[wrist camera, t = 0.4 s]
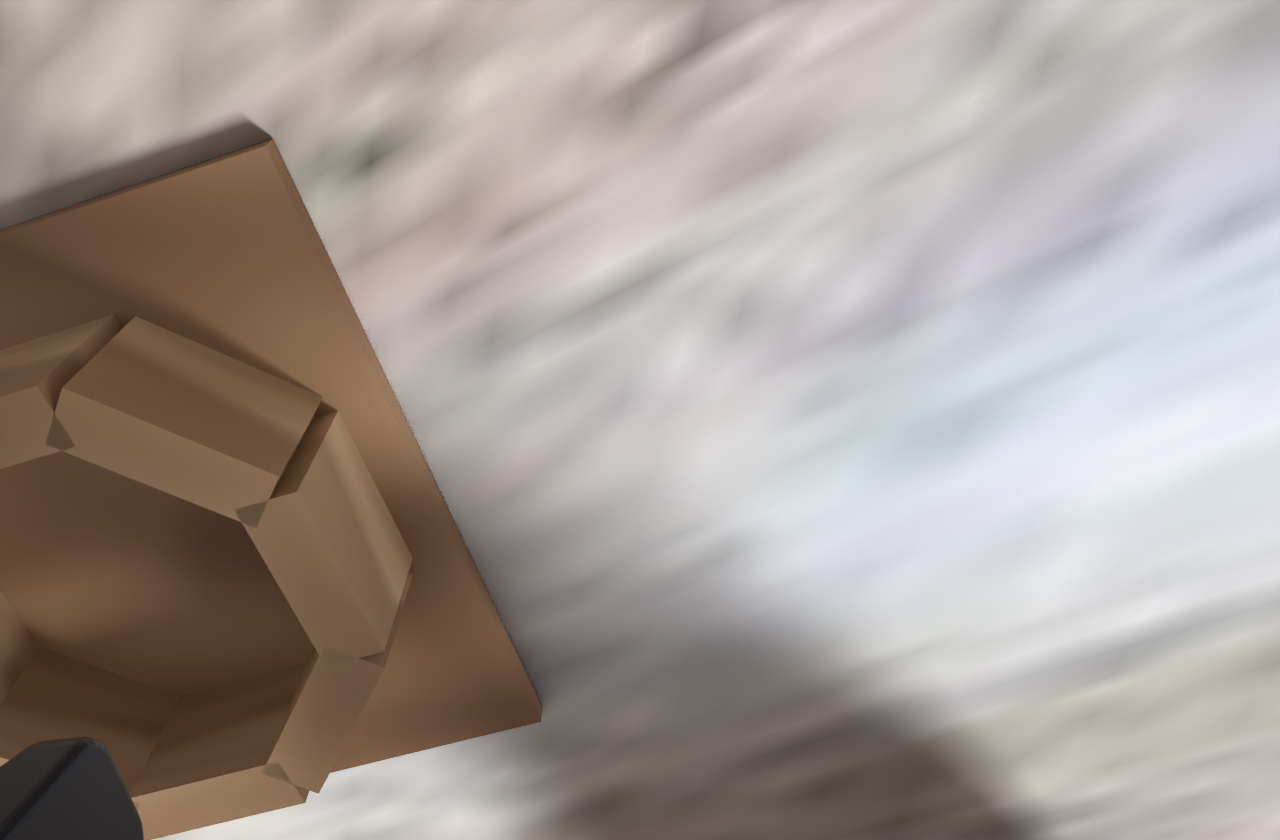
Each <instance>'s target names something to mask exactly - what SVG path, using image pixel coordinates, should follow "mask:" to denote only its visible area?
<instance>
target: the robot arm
mask: <svg viewBox="0 0 1280 840" xmlns="http://www.w3.org/2000/svg"><path fill="white" fill-rule="evenodd" d="M0 840H144V835H143V827H142V822H141V819H140V816H139V814H138V811H137V809H136V807H135V805H134V803H133V801H132V799H131V797H130V794H129V792H128V790H127V788H126V786H125V784H124V782H123V780H122V777H121V775H120V773H119V771H118V769H117V767H116V765H115V763H114V761H113V758H112V756H111V754H110V752H109V750H108V749H107V747H106V746H105V745H104V744H103V743H102V742H100V741H99V740H98V739H96V738H91V737H77V738H66V739H56V740H46V741H42V742H38V743H35V744H32V745H30V746H29V747H27V748H26V749H24V750H23V751H21V752H20V753H19V754H17V755H16V756H14V757H13V758H12V759H10V760H9V761H8V762H6V763H5V764H4V765H2V766H1V767H0Z"/></svg>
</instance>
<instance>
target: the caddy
mask: <svg viewBox="0 0 1280 840" xmlns="http://www.w3.org/2000/svg"><path fill="white" fill-rule="evenodd" d="M541 715H542V705H541V702H540V700H539V698H538V696H537V694H536V692H535V690H534V688H533V686H532V683H531V681H530V679H529V677H528V675H527V673H526V671H525V669H524V667H523V664H522V662H521V660H520V658H519V656H518V654H517V652H516V650H515V648H514V646H513V643H512V641H511V639H510V637H509V635H508V633H507V631H506V629H505V627H504V624H503V622H502V620H501V618H500V616H499V614H498V612H497V610H496V608H495V605H494V603H493V601H492V599H491V597H490V595H489V593H488V591H487V589H486V586H485V584H484V582H483V580H482V578H481V576H480V574H479V572H478V570H477V568H476V565H475V563H474V561H473V559H472V557H471V555H470V553H469V551H468V549H467V546H466V544H465V542H464V540H463V538H462V536H461V534H460V532H459V530H458V527H457V525H456V523H455V521H454V519H453V517H452V515H451V513H450V511H449V508H448V506H447V504H446V502H445V500H444V498H443V496H442V494H441V492H440V489H439V487H438V485H437V483H436V481H435V479H434V477H433V475H432V473H431V471H430V468H429V466H428V464H427V462H426V460H425V458H424V456H423V454H422V452H421V449H420V447H419V445H418V443H417V441H416V439H415V437H414V435H413V433H412V430H411V428H410V426H409V424H408V422H407V420H406V418H405V416H404V414H403V411H402V409H401V407H400V405H399V403H398V401H397V399H396V397H395V395H394V393H393V390H392V388H391V386H390V384H389V382H388V380H387V378H386V376H385V374H384V371H383V369H382V367H381V365H380V363H379V361H378V359H377V357H376V355H375V352H374V350H373V348H372V346H371V344H370V342H369V340H368V338H367V336H366V333H365V331H364V329H363V327H362V325H361V323H360V321H359V319H358V317H357V314H356V312H355V310H354V308H353V306H352V304H351V302H350V300H349V298H348V296H347V293H346V291H345V289H344V287H343V285H342V283H341V281H340V279H339V277H338V274H337V272H336V270H335V268H334V266H333V264H332V262H331V260H330V258H329V255H328V253H327V251H326V249H325V247H324V245H323V243H322V241H321V239H320V236H319V234H318V232H317V230H316V228H315V226H314V224H313V222H312V220H311V218H310V215H309V213H308V211H307V209H306V207H305V205H304V203H303V201H302V199H301V196H300V194H299V192H298V190H297V188H296V186H295V184H294V182H293V180H292V177H291V175H290V173H289V171H288V169H287V167H286V165H285V163H284V161H283V158H282V156H281V154H280V152H279V150H278V148H277V146H276V144H275V142H274V139H271V140H268V141H265V142H262V143H259V144H256V145H253V146H250V147H248V148H245V149H242V150H239V151H236V152H233V153H230V154H227V155H224V156H221V157H218V158H215V159H212V160H209V161H206V162H203V163H200V164H197V165H194V166H191V167H188V168H185V169H182V170H179V171H176V172H173V173H170V174H167V175H164V176H161V177H158V178H155V179H152V180H149V181H146V182H143V183H140V184H137V185H134V186H131V187H128V188H125V189H122V190H119V191H116V192H113V193H110V194H107V195H104V196H101V197H98V198H95V199H92V200H89V201H86V202H83V203H80V204H77V205H74V206H71V207H68V208H65V209H62V210H59V211H56V212H53V213H50V214H47V215H44V216H41V217H38V218H35V219H32V220H29V221H26V222H23V223H20V224H17V225H14V226H11V227H8V228H5V229H2V230H0V767H1V766H2V765H4V764H5V763H6V762H8V761H9V760H10V759H12V758H13V757H14V756H16V755H17V754H19V753H20V752H21V751H23V750H24V749H26V748H27V747H29V746H30V745H32V744H35V743H38V742H42V741H46V740H56V739H66V738H77V737H91V738H96V739H98V740H99V741H100V742H102V743H103V744H104V745H105V746H106V747H107V749H108V750H109V752H110V754H111V756H112V758H113V761H114V763H115V765H116V767H117V769H118V771H119V773H120V775H121V777H122V780H123V782H124V784H125V786H126V788H127V790H128V792H129V794H130V797H131V799H132V801H133V803H134V805H135V807H136V809H137V811H138V814H139V816H140V819H141V822H142V827H143V835H144V840H151V839H156V838H160V837H164V836H168V835H172V834H176V833H181V832H185V831H189V830H193V829H197V828H201V827H206V826H210V825H214V824H218V823H222V822H227V821H231V820H235V819H239V818H243V817H247V816H252V815H256V814H260V813H264V812H268V811H272V810H277V809H281V808H285V807H289V806H293V805H297V804H302V803H305V802H306V799H307V796H308V793H309V790H310V791H313V792H316V793H319V792H320V790H321V788H322V786H323V784H324V782H325V780H326V778H327V777H328V775H329V773H331V772H335V771H339V770H343V769H348V768H352V767H356V766H360V765H364V764H368V763H372V762H376V761H381V760H385V759H389V758H393V757H397V756H401V755H405V754H409V753H413V752H418V751H422V750H426V749H430V748H434V747H438V746H442V745H446V744H451V743H455V742H459V741H463V740H467V739H471V738H475V737H479V736H483V735H488V734H492V733H496V732H500V731H504V730H508V729H512V728H516V727H521V726H525V725H529V724H533V723H537V722H541Z"/></svg>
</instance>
